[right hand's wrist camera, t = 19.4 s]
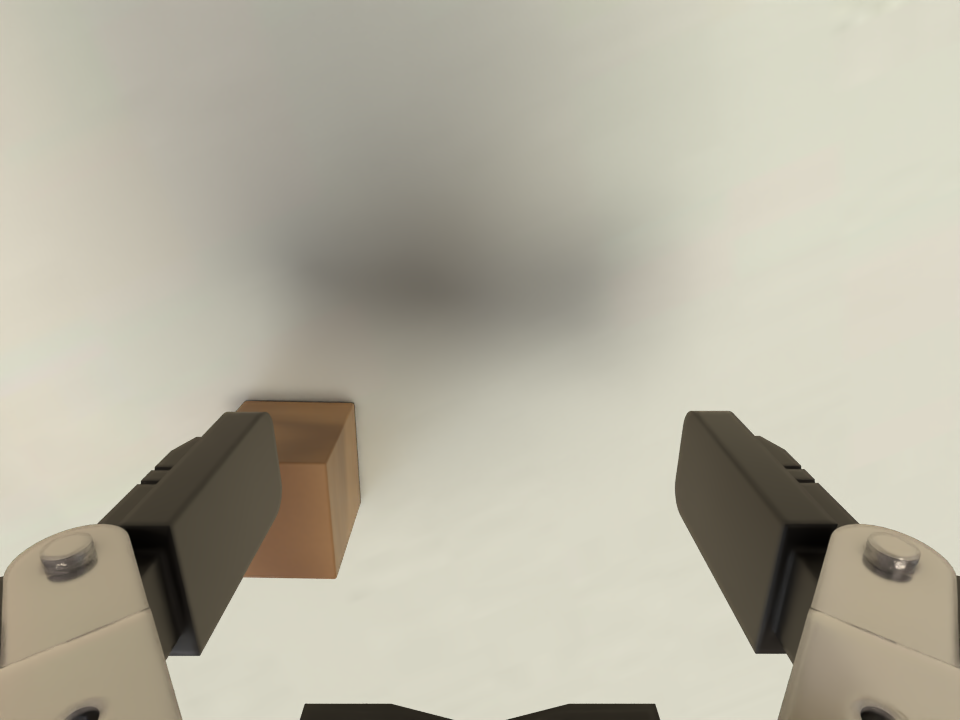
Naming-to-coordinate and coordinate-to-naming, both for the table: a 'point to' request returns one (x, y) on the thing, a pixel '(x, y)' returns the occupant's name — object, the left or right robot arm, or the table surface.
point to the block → (310, 489)
